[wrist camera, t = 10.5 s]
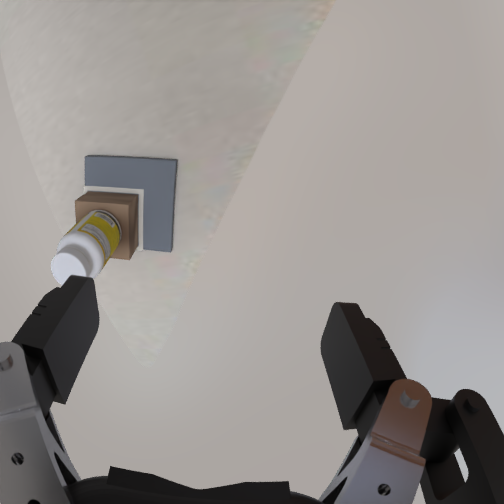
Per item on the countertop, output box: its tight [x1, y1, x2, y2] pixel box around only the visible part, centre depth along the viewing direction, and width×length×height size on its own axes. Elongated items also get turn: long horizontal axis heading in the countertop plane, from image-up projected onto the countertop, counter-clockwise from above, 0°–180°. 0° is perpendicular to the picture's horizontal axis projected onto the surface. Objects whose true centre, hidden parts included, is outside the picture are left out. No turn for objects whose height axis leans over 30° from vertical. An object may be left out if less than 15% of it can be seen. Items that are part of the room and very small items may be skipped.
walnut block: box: [75, 191, 138, 260], centre depth 37 cm, size 7×7×4 cm
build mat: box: [83, 155, 177, 252], centre depth 38 cm, size 12×12×1 cm
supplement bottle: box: [51, 210, 121, 285], centre depth 31 cm, size 5×5×10 cm
